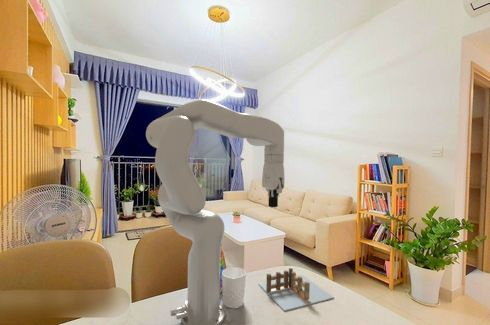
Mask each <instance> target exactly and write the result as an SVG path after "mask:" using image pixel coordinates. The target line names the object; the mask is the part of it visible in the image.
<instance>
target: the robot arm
mask: <svg viewBox="0 0 490 325" xmlns="http://www.w3.org/2000/svg"><path fill="white" fill-rule="evenodd" d="M196 130H205V131H209V132H212V133H215V134H218V135H221V136H224V137H228V138H233V139H246V142H247V143H248V144H249V145H251V146H253V147H261V146H263V147H264V156H263V158H264V159H263V160H264V161H263V162H264V163H263V167H262V177H261V187H262V188H264V189H265V191H266V192H267V197H268V207H270V208H277V207H278V206H279V201H278V200H279V196H280V195H279V194H282V192H283V189H284V188H285V167H284V165H285V164H284V160H285V158H284V157H285V156H284V155H285V130H284V129H283V128H282V126H281V125H280V124H279V123H278V122H275V121H273V120H271V119H269V118H266V117H262V116H258V115H257V116H256V115H251V114H248V113H244V112H243V113H241V112H239V111H238V112H237V111H235V110H233V109H231V108H228V107H226V106H224V105H221V104H220V103H216V102H215V101H212V100H209V99H205V98H202V99H197V100H193V101H190V102H187V103H184V104H182V105H180V106H178V107H176V108H174V109H173V110H171V111H169V112H168V113H166V114H163V115H162V116H161V117H158V118H156V119H155V120H152V122H150V123H149V124H148V126H147V127H146V131H145V137H146V140H147V142H148V144H149V145H150V146H152V147H153V148H154V149H155V148H156V151H155V158H154V165H155V170H156V173H157V176H158V178H159V180H160V182H161V185H160V187H159V189H158V191H157V201H158V204H159V207H161V208H160V209H161V210H162V212H163V214H165V216H166V218H167V220H168V221H169V222H170V224H171V226H172V227H173V229H174V231H176V233H177V234H178V235H180V236H182V237H184V238H186V239H188V240H190V241H192V245H191V248H190V250H189V252H188V256H187V296H186V297H187V300H184V304H181V306H179V307H173V308H170V317H174V316H175V320H181V322H182V323H181V324H182V325H221V324H222V323H223V322H224V320H225V316H226V313H225V309H224V308H223V306H222V305H220V303H221V302H220V301H221V293H220V259H221V256H222V255H221V251H222V247H221V245H222V246H223V239H224V235H225V222H224V220H223V219H222V217H221V216H219V214H217V213H215V212H213V211H210V210H206V209H204V208H205V206H206V200H207V199H206V195H205V192H204V191H203V189H202V186H201V184H200V183H199V181H198V179H197V177H196V175H195V173H194V172H193V170H192V166H191V164H190V162H189V152H190V148H191V146H192V144H193V141H194V138H195V133H196V132H195V131H196Z"/></svg>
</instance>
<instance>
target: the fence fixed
mask: <svg viewBox="0 0 490 325" xmlns="http://www.w3.org/2000/svg"><path fill="white" fill-rule="evenodd" d="M293 270H294V269H293V268H291V267H290V268H289V267H288V270H284V271H283V273H281V272H280V271H276V272H275V275H274V274H273V275H272V274H271V273H267V274H266V282H267V284H266V291H267V292H268V293H269V292H271V289H273V288H276V289H277V290H280V287H282V286H284V288H285V289H286V288H288V285H289V287H291V272H294V271H293ZM288 277H289V281H288ZM283 278H284V282H281V279H283ZM273 280H276V283H275V284H271V281H273Z"/></svg>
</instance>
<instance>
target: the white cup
mask: <svg viewBox="0 0 490 325" xmlns="http://www.w3.org/2000/svg"><path fill="white" fill-rule="evenodd" d="M246 274H247V272H246V270H245V269H244V268H241V267H237V266H236V267H227V268H224V270H223V271H222V292H221V293H222V304H223V305H224V306H225V307H226V308H228V309H238V308H240V307H242V306H243V305H244V300H245V299H244V297H245V292H246V290H245V289H246Z"/></svg>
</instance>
